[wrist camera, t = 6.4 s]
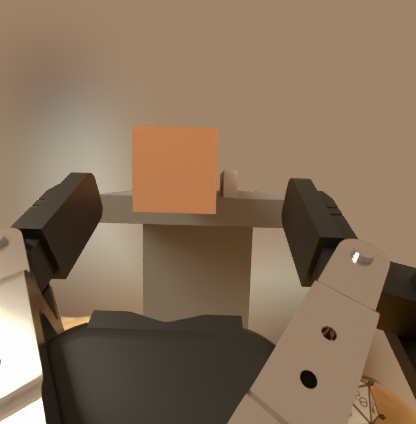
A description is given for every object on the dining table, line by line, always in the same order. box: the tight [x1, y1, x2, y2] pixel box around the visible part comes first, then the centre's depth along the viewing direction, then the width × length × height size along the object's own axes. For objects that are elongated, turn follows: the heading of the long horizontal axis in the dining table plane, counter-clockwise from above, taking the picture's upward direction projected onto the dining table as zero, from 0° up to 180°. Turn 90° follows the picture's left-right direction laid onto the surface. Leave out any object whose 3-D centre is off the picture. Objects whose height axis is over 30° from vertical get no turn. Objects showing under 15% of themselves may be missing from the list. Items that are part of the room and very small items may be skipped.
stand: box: [99, 170, 285, 329], centre depth 28 cm, size 18×17×34 cm
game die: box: [347, 380, 386, 424], centre depth 35 cm, size 9×8×10 cm
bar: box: [132, 126, 218, 214], centre depth 20 cm, size 22×3×3 cm, turn 179°
